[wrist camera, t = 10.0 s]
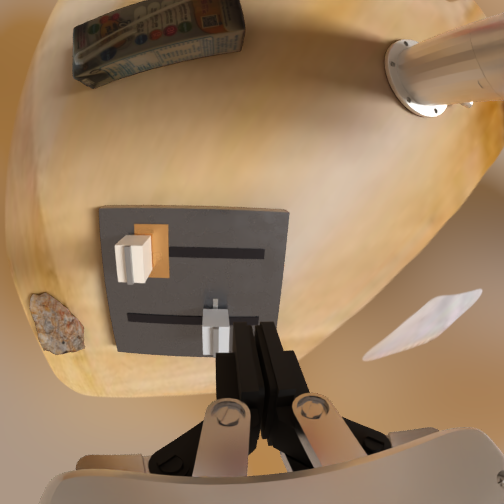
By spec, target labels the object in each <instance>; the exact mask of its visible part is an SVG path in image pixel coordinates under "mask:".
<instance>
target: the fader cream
mask: <svg viewBox="0 0 504 504" xmlns="http://www.w3.org/2000/svg"><path fill="white" fill-rule="evenodd" d="M115 256H116V266H117V276H118V282H127V285H133V284H134V283H145V282H146V280H147V278H148V276H149V274H150V273H151V271H152V252H151V235H125V236H124V237H123V238H122V239H121V240H120V241H119V242H118V243H117V244H115Z"/></svg>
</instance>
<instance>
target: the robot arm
mask: <svg viewBox="0 0 504 504" xmlns="http://www.w3.org/2000/svg"><path fill="white" fill-rule="evenodd" d="M385 70H386V75H387V78H388V81H389V83H390V86H391V88H392V90H393V91H394V93H395V95H396V96H397V98H398V99H399V100H400V101H401V103H402V104H403V105H404V106H405V107H406V108H407V109H409V110H410V111H411V112H413V113H415V114H417V115H419V116H422V117H436V116H438V115H440V114H441V113H443V112H444V110H445V109H446V107H447V105H449V104H458V103H460V104H461V105H463V106H465V107H467V108H470V107H471V106H472V102H481V101H497V100H504V13H501V14H498V15H495V16H492V17H489V18H486V19H483V20H479V21H476V22H473V23H470V24H467V25H464V26H461V27H458V28H455V29H453V30H450V31H447V32H445V33H442V34H439V35H437V36H434V37H432V38H429V39H427V40H424V41H422V42H420V43H419V42H416V41H414V40H409V39H402V40H399V41H396V42H395V43H393V44H392V45H391V46H390V47H389V48H388V50H387V52H386V55H385ZM216 397H217V400H216V401H214V402H212V403H211V404H210V405H209V406H208V407H207V410H206V413H205V417H204V420H203V421H202V422H201V423H199V424H198V425H196V426H195V427H194V428H192V429H191V430H189V431H187V432H186V433H184V434H183V435H182V436H180V437H179V438H177V439H175V440H174V441H172V442H171V443H169V444H168V445H166V446H165V447H163V448H161V449H160V450H158V451H157V452H155V453H154V454H153V455H152V456H142V454H131V455H86V456H84V457H82V458H80V460H79V461H78V462H77V465H76V470H74V471H69V472H65V473H62V474H59V475H57V476H55V477H54V478H53V479H52V480H51V481H50V482H49V484H48V485H47V487H46V488H45V490H44V492H43V495H42V497H41V499H40V502H39V504H504V455H503V453H502V452H501V451H500V449H499V448H498V447H497V446H496V444H495V443H494V442H493V441H492V440H491V439H490V438H489V437H488V436H487V435H486V434H485V433H484V432H482V431H481V430H479V429H476V428H470V427H468V428H467V427H462V428H452V429H447V430H442V431H439V430H437V429H435V428H421V429H414V430H407V431H399V432H390V433H389V434H388V435H384V434H383V433H381V432H378V431H375V430H373V429H371V428H368V427H365V426H363V425H360V424H358V423H356V422H353V421H351V420H348V419H346V418H344V417H341V416H340V414H339V412H338V411H337V409H336V408H335V406H334V405H333V403H332V402H331V401H330V400H329V399H328V398H327V397H325V396H324V395H321V394H318V393H310V392H309V389H308V387H307V384H306V382H305V379H304V376H303V374H302V371H301V368H300V366H299V363H298V360H297V358H296V355H295V353H294V351H293V350H292V351H283V348H282V345H281V342H280V339H279V336H278V333H277V330H276V327H275V324H274V322H273V321H271V322H260V325H255V332H254V334H253V329H252V325H247V322H233V344H232V353H216ZM260 430H261V436H262V439H267V442H268V446H273V447H274V448H276V449H278V450H279V451H280V454H281V458H282V460H283V462H284V465H285V467H286V469H287V471H288V472H287V473H279V474H270V475H260V476H247V467H248V455H249V454H250V453H252V452H253V451H254V450H255V449H256V445H257V440H258V439H259V433H260Z"/></svg>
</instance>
